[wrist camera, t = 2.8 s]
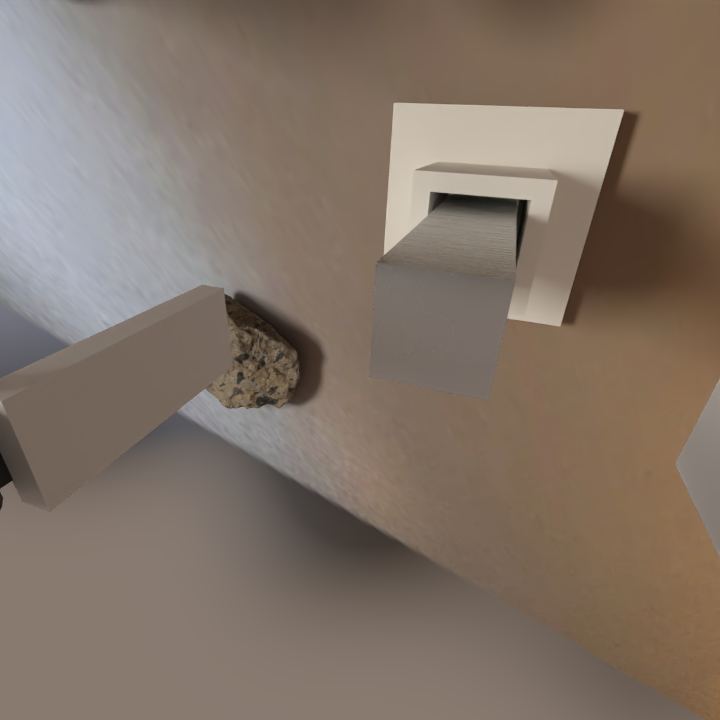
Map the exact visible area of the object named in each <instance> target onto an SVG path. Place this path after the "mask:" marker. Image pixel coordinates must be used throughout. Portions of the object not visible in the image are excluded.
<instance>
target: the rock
mask: <svg viewBox="0 0 720 720" xmlns="http://www.w3.org/2000/svg"><path fill="white" fill-rule="evenodd" d="M224 295H225V304H226V312H227V321H228V330H229V338H230V347H231V355H232V364H233V367H231V368H230V369H229V370H228V371H226V372H225V373H224V374H223V375H221V376H220V377H219V378H218V379H216V380H215V381H214V382H212V383H211V384H210V385H209V386H207V387H206V388H205V389H206V390H207V391H208V392H210V393H211V394H212V395H213V396H215V397H216V398H217V399H218V400H219V401H220V402H221V403H222V405H223V406H225V407H227V408H239V407H243V406H244V407H245V408H246V409H248V408H260V407H261V406H263V405H265V404H272V405H274V406H275V407H278V408H280V407H282V406H283V405H284V404H285V403H286V402H289V401H290V400H291V399H292V398H293V397H294V395H295V392H296V387H297V384H298V383H299V381H300V378H299V377H300V374H299V360H298V354H297V352H296V351H295V349H294V348H293V347H292V346H291V345H290V344H289V343H288V342H287V341H286V340H285V339H284V338H282V337H281V336H280V335H279V334H278V333H277V332H276V330H275V329H274V327H272V326H271V325H269V324H268V323H267V322H265V321H264V320H262V319H261V318H259V317H258V316H257V315H255V314H254V312H252V311H250V310H248V309H247V308H246V307H244V306H242V305H241V304H238V303H237V302H236V301H235V300H233V299H232V298H231V297H230V296H228V295H226V294H224Z"/></svg>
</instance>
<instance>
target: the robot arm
mask: <svg viewBox="0 0 720 720" xmlns="http://www.w3.org/2000/svg"><path fill="white" fill-rule="evenodd" d="M231 367H233V364H232V355H231V347H230V338H229V330H228V321H227V312H226V304H225V295H224V288H219V287H213V286H207V285H201V286H199V287H197V288H195V289H192V290H190V291H188V292H186V293H184V294H182V295H179V296H177V297H175V298H173V299H171V300H169V301H167V302H164V303H162V304H160V305H158V306H156V307H154V308H151V309H149V310H147V311H145V312H143V313H141V314H138V315H136V316H134V317H132V318H130V319H128V320H125V321H123V322H121V323H119V324H117V325H115V326H113V327H110V328H108V329H106V330H104V331H102V332H100V333H97V334H95V335H93V336H91V337H89V338H87V339H84V340H82V341H80V342H78V343H76V344H74V345H71V346H69V347H67V348H65V349H63V350H61V351H59V352H56V353H54V354H52V355H50V356H48V357H46V358H43V359H41V360H39V361H37V362H35V363H33V364H31V365H28V366H26V367H24V368H22V369H20V370H18V371H16V372H13V373H11V374H9V375H7V376H5V377H2V378H0V488H2V487H3V486H5V485H6V484H8V483H9V482H11V481H13V483H14V485H15V487H16V489H17V491H18V494H19V496H20V498H21V500H22V502H24V503H27V504H30V505H33V506H35V507H38V508H41V509H43V510H46V511H48V512H50V511H51V510H53V509H54V508H55V507H56V506H58V505H59V504H60V503H61V502H63V501H64V500H65V499H66V498H68V497H69V496H70V495H72V494H73V493H74V492H75V491H77V490H78V489H79V488H80V487H82V486H83V485H84V484H85V483H86V482H87V481H89V480H90V479H92V478H93V477H94V476H95V475H97V474H98V473H99V472H100V471H102V470H103V469H104V468H106V467H107V466H108V465H109V464H111V463H112V462H113V461H114V460H116V459H117V458H118V457H119V456H121V455H122V454H123V453H124V452H126V451H127V450H128V449H129V448H131V447H132V446H133V445H134V444H136V443H137V442H138V441H140V440H141V439H142V438H143V437H145V436H146V435H147V434H148V433H150V432H151V431H152V430H153V429H155V428H156V427H157V426H158V425H160V424H161V423H162V422H163V421H165V420H166V419H167V418H168V417H170V416H171V415H172V414H173V413H175V412H176V411H177V410H179V409H180V408H181V407H182V406H184V405H185V404H186V403H187V402H189V401H190V400H191V399H192V398H194V397H195V396H196V395H197V394H199V393H200V392H201V391H202V390H204V389H205V388H206V387H207V386H209V385H210V384H211V383H212V382H214V381H215V380H216V379H218V378H219V377H220V376H221V375H223V374H224V373H225V372H226V371H228V370H229V369H230V368H231ZM675 465H676V467H677V469H678V471H679V473H680V475H681V477H682V480H683V482H684V484H685V486H686V488H687V490H688V492H689V494H690V496H691V499H692V501H693V503H694V505H695V507H696V509H697V511H698V513H699V515H700V518H701V520H702V522H703V524H704V526H705V528H706V530H707V532H708V534H709V537H710V539H711V541H712V543H713V545H714V547H715V549H716V551H717V553H718V556H719V558H720V379H719V381H718V383H717V385H716V387H715V389H714V391H713V393H712V394H711V396H710V398H709V400H708V402H707V404H706V406H705V408H704V410H703V412H702V414H701V415H700V417H699V419H698V421H697V423H696V425H695V427H694V429H693V431H692V433H691V434H690V436H689V438H688V440H687V442H686V444H685V446H684V448H683V450H682V452H681V454H680V455H679V457H678V459H677V461H676V463H675ZM2 501H3V497H2V495H1V493H0V509H1V507H2Z"/></svg>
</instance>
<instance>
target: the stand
mask: <svg viewBox="0 0 720 720" xmlns="http://www.w3.org/2000/svg"><path fill="white" fill-rule="evenodd" d="M623 112H624V110H618V109H585V108H551V107H518V106H484V105H451V104H417V103H394V110H393V125H392V140H391V155H390V170H389V184H388V199H387V214H386V229H385V244H384V255H385V254H386V253H387V252H388V251H389V250H390V249H392V248H393V247H394V246H395V245H396V244H397V243H398V242H399V241H400V240H401V239H402V238H404V237H405V236H406V235H407V234H408V233H409V232H410V231H411V230H412V229H413V228H415V227H416V226H417V225H418V224H419V223H420V222H421V221H422V220H423V219H424V218H425V217H427V216H428V215H429V214H430V213H431V212H432V211H433V210H434V209H435V208H436V207H437V206H439V205H440V204H441V203H442V202H443V201H444V200H445V199H446V198H447V197H448V196H449V193H452V194H464V195H476V196H488V197H500V198H512V199H520V200H519V204H518V209H517V226H516V281H515V286H514V290H513V294H512V299H511V303H510V308H509V312H508V317H507V318H509V319H515V320H522V321H528V322H535V323H541V324H548V325H554V326H561V322H562V319H563V316H564V312H565V309H566V305H567V302H568V299H569V295H570V292H571V288H572V285H573V282H574V278H575V275H576V272H577V268H578V265H579V261H580V258H581V255H582V251H583V248H584V244H585V241H586V238H587V234H588V231H589V227H590V224H591V221H592V217H593V214H594V211H595V207H596V204H597V200H598V197H599V194H600V190H601V187H602V183H603V180H604V177H605V173H606V170H607V167H608V163H609V160H610V156H611V153H612V150H613V146H614V143H615V139H616V136H617V133H618V129H619V126H620V122H621V119H622V116H623Z"/></svg>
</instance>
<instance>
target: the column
mask: <svg viewBox="0 0 720 720" xmlns="http://www.w3.org/2000/svg"><path fill="white" fill-rule="evenodd" d="M519 200H520V199H512V198H500V197H488V196H476V195H464V194H452V193H449V196H448V197H447V198H446V199H445V200H444V201H443V202H442V203H441V204H440V205H439V206H437V207H436V208H435V209H434V210H433V211H432V212H431V213H430V214H429V215H428V216H427V217H425V218H424V219H423V220H422V221H421V222H420V223H419V224H418V225H417V226H416V227H415V228H413V229H412V230H411V231H410V232H409V233H408V234H407V235H406V236H405V237H404V238H402V239H401V240H400V241H399V242H398V243H397V244H396V245H395V246H394V247H393V248H392V249H390V250H389V251H388V252H387V253H386V254H385V255H384V256H383V257H382V258H381V259H379V260H378V261H377V262H376V274H375V291H374V308H373V325H372V342H371V359H370V376H369V377H373V378H378V379H383V380H388V381H393V382H397V383H402V384H407V385H412V386H417V387H422V388H427V389H432V390H437V391H442V392H446V393H451V394H456V395H461V396H466V397H471V398H476V399H481V400H486V401H489V396H490V392H491V387H492V383H493V379H494V374H495V370H496V365H497V361H498V356H499V352H500V348H501V343H502V339H503V334H504V330H505V325H506V321H507V317H508V312H509V308H510V303H511V299H512V294H513V290H514V286H515V281H516V226H517V209H518V204H519Z"/></svg>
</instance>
